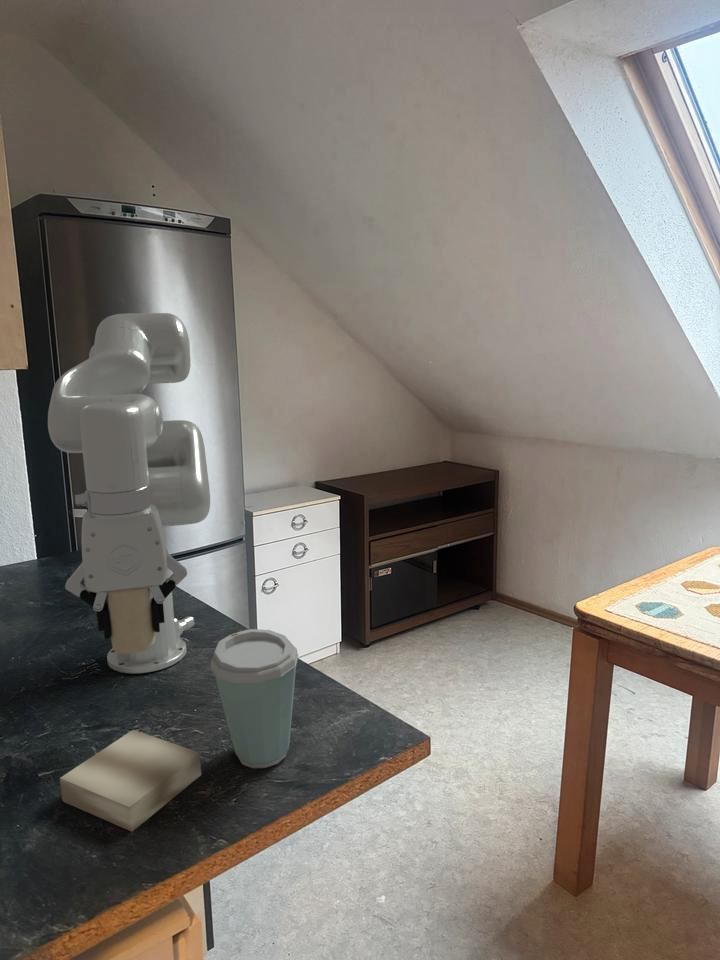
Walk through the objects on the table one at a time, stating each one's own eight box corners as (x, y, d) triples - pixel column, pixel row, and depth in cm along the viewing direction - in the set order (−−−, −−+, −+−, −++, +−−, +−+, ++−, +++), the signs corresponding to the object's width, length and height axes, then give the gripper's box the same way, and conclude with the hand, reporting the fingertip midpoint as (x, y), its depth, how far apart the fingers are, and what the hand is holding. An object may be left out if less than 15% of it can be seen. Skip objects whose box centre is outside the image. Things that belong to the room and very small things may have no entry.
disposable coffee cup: (320, 754, 87) (316, 643, 84) (249, 793, 80) (241, 674, 77) (270, 722, 95) (264, 619, 92) (201, 755, 88) (192, 645, 85)
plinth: (135, 750, 89) (133, 729, 88) (201, 774, 84) (199, 752, 83) (62, 801, 79) (59, 778, 79) (132, 831, 74) (129, 807, 74)
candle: (140, 631, 97) (133, 563, 94) (163, 642, 93) (157, 572, 91) (104, 646, 92) (96, 575, 90) (127, 658, 89) (120, 585, 87)
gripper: (42, 514, 82) (60, 653, 87) (190, 501, 87) (200, 634, 91) (50, 498, 89) (66, 628, 94) (187, 487, 94) (197, 611, 98)
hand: (132, 630), depth 92 cm, fingers closed on candle, 5 cm apart
